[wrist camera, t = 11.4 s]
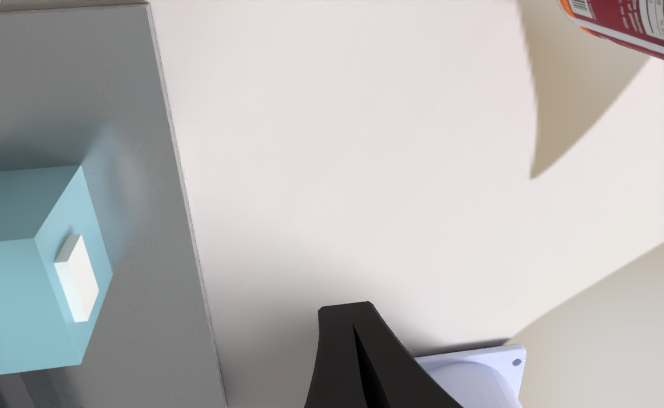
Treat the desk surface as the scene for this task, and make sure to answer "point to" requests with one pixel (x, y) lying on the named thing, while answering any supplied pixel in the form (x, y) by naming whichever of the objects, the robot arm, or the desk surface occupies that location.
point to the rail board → (112, 204)
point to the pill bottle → (621, 22)
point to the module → (48, 268)
